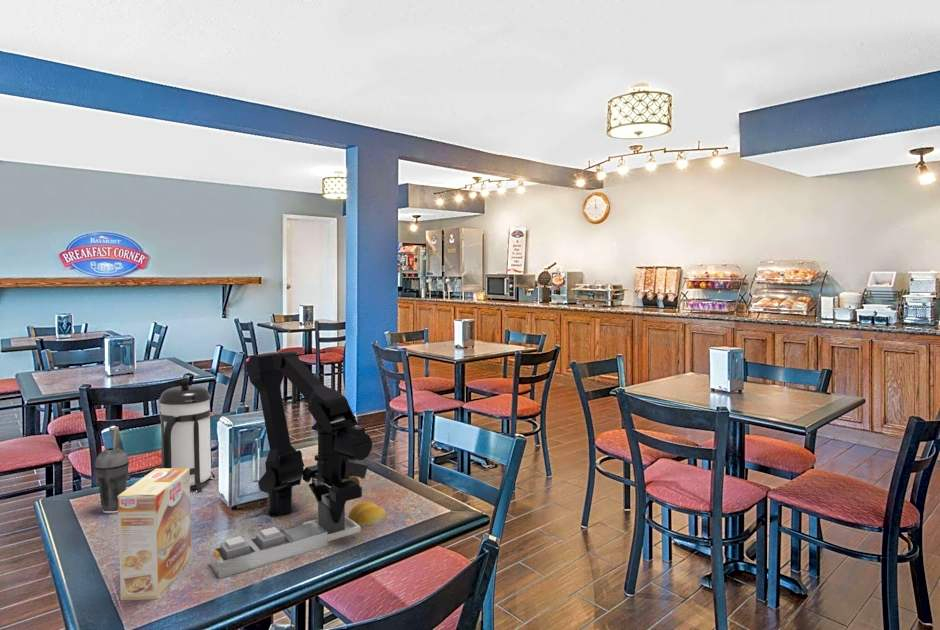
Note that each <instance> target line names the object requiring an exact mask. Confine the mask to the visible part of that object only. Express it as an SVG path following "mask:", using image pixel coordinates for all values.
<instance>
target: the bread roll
mask: <svg viewBox="0 0 940 630" xmlns="http://www.w3.org/2000/svg"><path fill="white" fill-rule="evenodd" d="M348 518H350V519H351V520H353V521H354V522H355V523H357V524H358V525H360V526H364V527H365V526H369V527H370V526H375V525H378V524H381V523H383V522H384V521H385V520H386V519H387V512H386V509H384V508H383V507H380V506H378V504H376V503H374V502H372V501H362V502H359V503H357V504H356V505H354V507H352V508H351V509H350V511H349V514H348Z"/></svg>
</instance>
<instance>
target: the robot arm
mask: <svg viewBox="0 0 940 630" xmlns="http://www.w3.org/2000/svg"><path fill="white" fill-rule="evenodd" d="M245 369H246V373H247V375H248V379H249V382H250V383H251V385H252V386H254V388H255V389H256V390H257V391H258V393H259V399H260V404H261V409H262V413H263V419H264V420H263V421H264V426H265V431H266V436H267V441H268V446H269V451H268V454H267V456H266V459H265V463H264V465H265V472H264V473H263V475H262V476H261V478H260V479H259V480H258V481H257V483H258V488H259V491H261V492H263V493H266V494H267V503H268V504H267V506H268V507H265V508H262V509H263V511H264V512H265V513H266V514H268V516H270V517H271V518H275V517H276V518H277V517H282V516H285V515H290V514H291V513H296V512H299V510H298V509H297V508H296V507H295V506H294V505H293V501H294V499H293V487H295V486H299V485H301V482H302V480H303V481H304V482H305V483H308V487H309V488H310V490H311V493H312V494H313V495H314V497H315V500H316V502H317V503H318V501H322V495H323V494H327V493H329V495H328V496H325V499H326V502H327V505H328V507H329V510H330V513H331V516H332V519H333V522H334V523H338V522H339V521H340V518H341V515H342V512H343V508H344V506H345V507H346V503H347V501H351V500H356V499H359V498H362V497H363V487H362V486H361V484H360V485H358V484H357V483H355V482H353V481H352V480H350V481H345V482H342V479H345V480H346V479H350V476H353V477H356V478H360V479H365V478H366V474H367V472H368V468H369V465H368V464H367V463H365V462H363V460H366V459H367V458H368V457H369V456H370V453H371V452H372V448H373V441H372V439H371V436H370V435H369V434H368V433H366V428H365V427H362V426H359V427H358V425H359V423H358V421H357V419H356V418H357V417H356V416H355V414H354V413H353V411H352V408H351V406H350V404H349V401H348V399H347V398H346V396H344V395H343V394H342V393H340V392H339V391H338V390H336V389H335V388H331V387H328V386H326V385H325V384H324V383H323V382H322V381H321V380H320V379H319V378H318V377H317V376H316V375H315V374H314V373H313V372H312V371H311V370H310V369H309V368H308V366H307V365H306V364H304V362H303V361H302V360H301V359H300V357H299V354H298V353H297V352H296V351H292V350H290V351H282V352H280V351H279V352H269V353H260V354H253V355H251V356H249V358H248V360H247V362H246V365H245ZM284 377H285V378H287V379H288V381H290V383H291V384H292V385H293V386H294V387H295V389H296V390H298V392H299V393H300V394H301V395H302V396H303V397H304V398H305V400H306V402H307V409H308V411H309V413H310V415H311V416H312V417H313V419H314V420H315V422H316V423H314V424H312V426H310V427H311V430H313V431H317V454H316V455H314V461H316V463H317V462H318V465H316V464H313V465H310V466H309V465H308V466H305V463H304V461H303V453H302V451H301V450H300V449H299V450H296V448H294V446H293V445H292V442H291V438H290V432H289V426H288V423H287V417H286V411H285V407H284V400H283V396H282V390H281V386H282V382H283V380H284ZM304 467H305V468H304ZM310 482H311V483H310Z"/></svg>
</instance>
